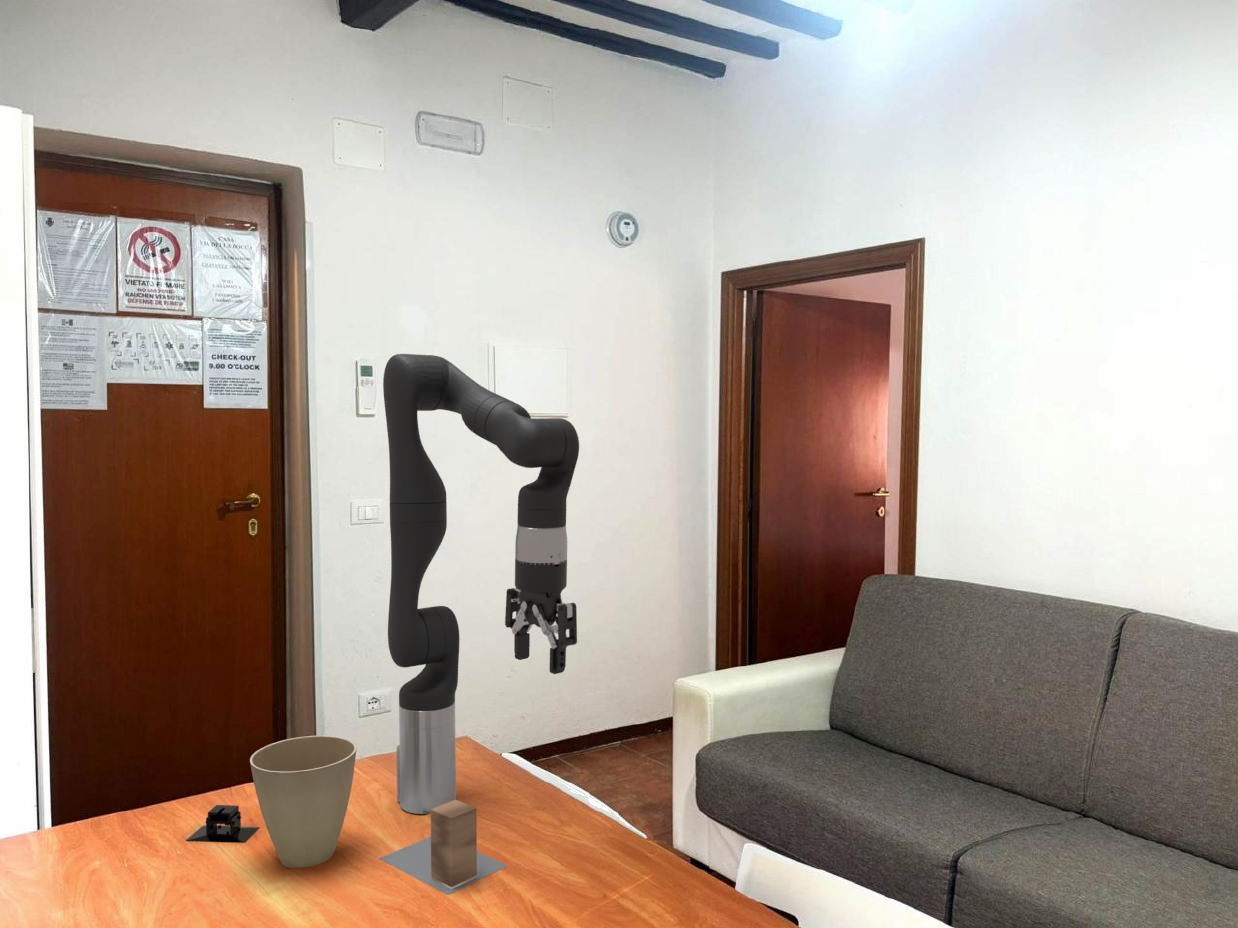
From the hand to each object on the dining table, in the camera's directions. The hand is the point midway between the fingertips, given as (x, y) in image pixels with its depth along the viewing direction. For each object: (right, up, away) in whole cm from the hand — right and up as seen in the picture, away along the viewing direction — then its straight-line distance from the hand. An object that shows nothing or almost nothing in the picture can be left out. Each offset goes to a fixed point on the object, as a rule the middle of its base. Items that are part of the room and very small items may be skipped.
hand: (539, 665), depth 139 cm
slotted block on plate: (-50, -29, +10) cm, 59 cm away
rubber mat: (-14, -29, 0) cm, 32 cm away
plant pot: (-35, -29, +2) cm, 45 cm away
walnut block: (-12, -29, -5) cm, 32 cm away
